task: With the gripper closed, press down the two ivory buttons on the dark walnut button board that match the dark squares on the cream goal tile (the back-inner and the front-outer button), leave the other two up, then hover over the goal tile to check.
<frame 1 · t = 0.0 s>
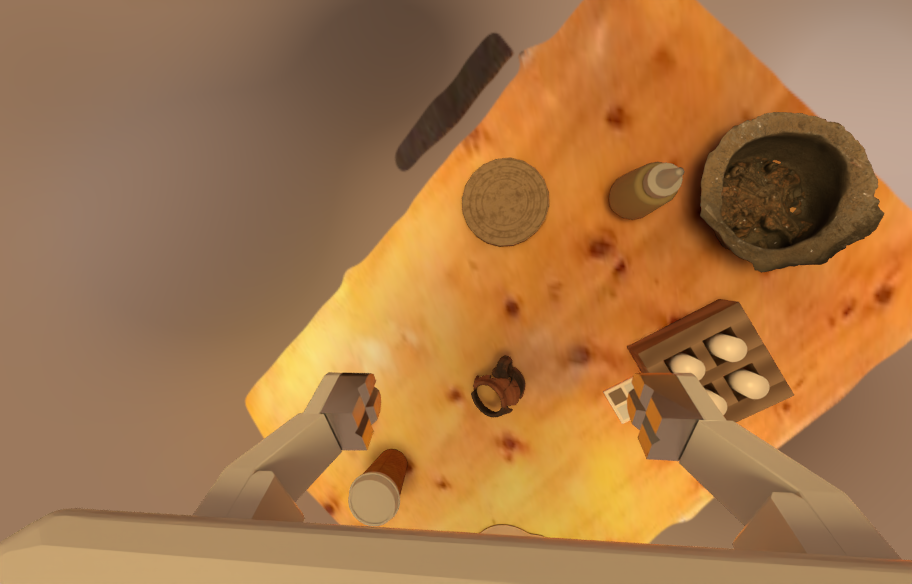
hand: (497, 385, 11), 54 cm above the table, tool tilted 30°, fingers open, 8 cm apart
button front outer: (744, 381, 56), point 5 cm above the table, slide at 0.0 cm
squeeze bottle: (625, 200, 60), on the table
stone bowl: (751, 198, 58), on the table
disposable coffee cup: (393, 462, 70), on the table
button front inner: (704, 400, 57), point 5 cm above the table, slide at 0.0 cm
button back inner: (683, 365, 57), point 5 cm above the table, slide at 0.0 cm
button board: (696, 365, 61), on the table
pottery mug: (500, 378, 66), on the table
goal tile: (629, 398, 63), on the table
brown wooden disc: (504, 205, 64), on the table
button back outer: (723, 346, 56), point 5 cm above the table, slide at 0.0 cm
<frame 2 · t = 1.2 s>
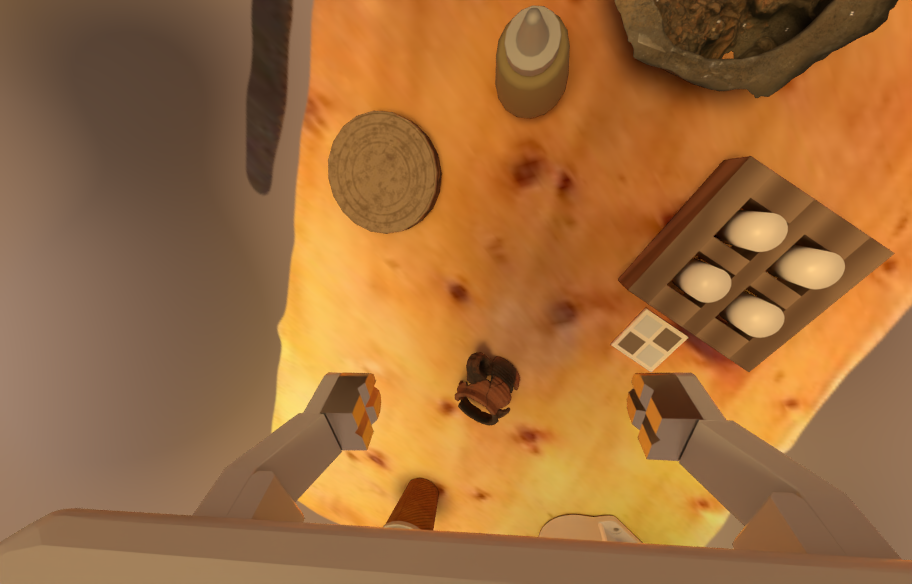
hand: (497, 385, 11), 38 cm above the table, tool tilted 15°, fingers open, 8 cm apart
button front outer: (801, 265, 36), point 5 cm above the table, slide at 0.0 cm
squeeze bottle: (530, 88, 41), on the table
disposable coffee cup: (423, 489, 64), on the table
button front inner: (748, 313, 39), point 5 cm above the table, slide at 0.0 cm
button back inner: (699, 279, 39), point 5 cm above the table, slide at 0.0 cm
button board: (725, 264, 42), on the table
pottery mug: (487, 373, 54), on the table
goal tile: (647, 340, 47), on the table
brown wooden disc: (389, 176, 48), on the table
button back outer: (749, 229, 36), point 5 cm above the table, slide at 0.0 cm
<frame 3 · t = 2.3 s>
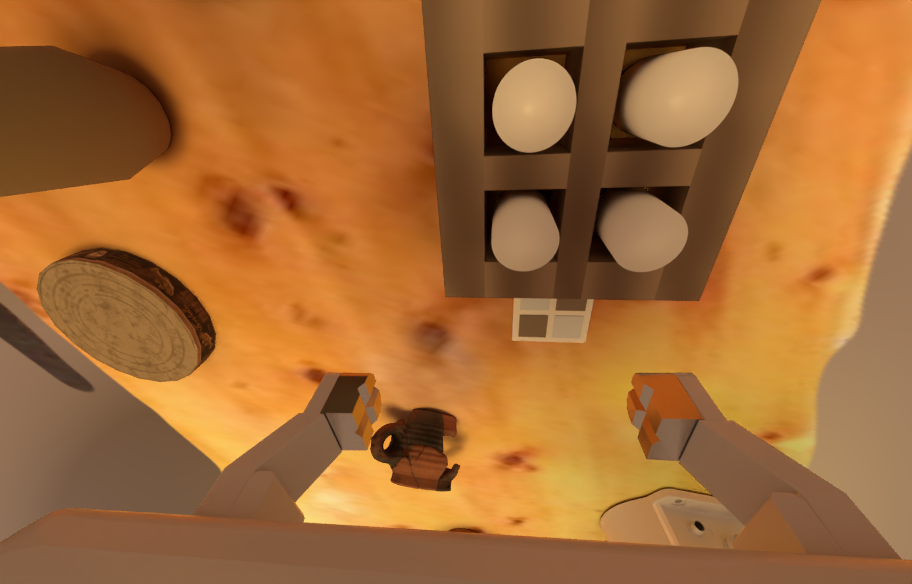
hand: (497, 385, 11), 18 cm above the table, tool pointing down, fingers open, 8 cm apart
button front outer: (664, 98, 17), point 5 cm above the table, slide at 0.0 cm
squeeze bottle: (137, 115, 26), on the table
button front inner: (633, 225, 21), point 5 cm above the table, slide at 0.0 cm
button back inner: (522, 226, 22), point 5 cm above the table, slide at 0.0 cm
button board: (570, 155, 24), on the table
pottery mug: (422, 426, 43), on the table
goal tile: (551, 310, 31), on the table
brown wooden disc: (148, 310, 37), on the table
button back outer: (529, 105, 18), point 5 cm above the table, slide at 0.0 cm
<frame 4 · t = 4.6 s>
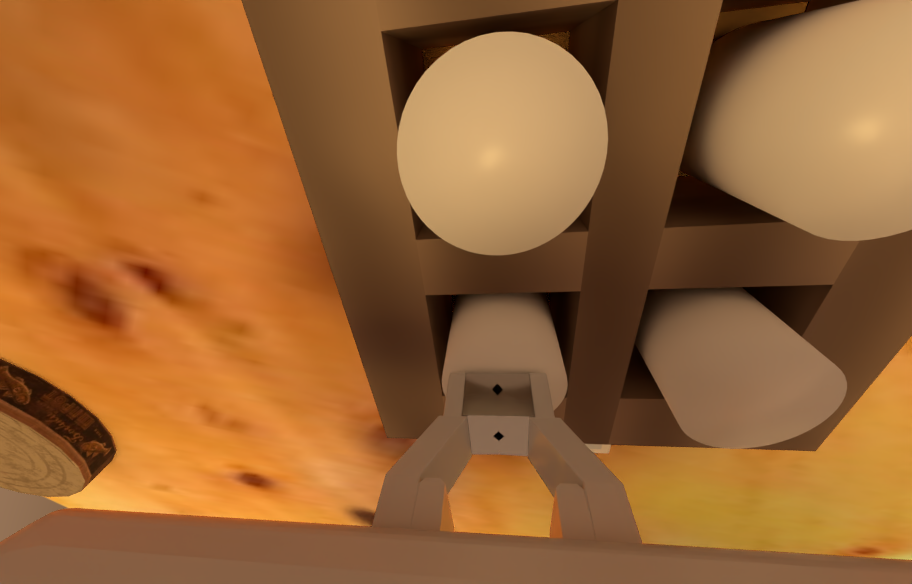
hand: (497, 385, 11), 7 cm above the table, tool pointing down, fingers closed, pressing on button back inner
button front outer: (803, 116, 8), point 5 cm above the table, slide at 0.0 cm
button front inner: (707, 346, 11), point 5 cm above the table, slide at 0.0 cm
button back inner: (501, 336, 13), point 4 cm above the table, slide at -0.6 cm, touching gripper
button board: (581, 207, 14), on the table
brown wooden disc: (22, 409, 28), on the table
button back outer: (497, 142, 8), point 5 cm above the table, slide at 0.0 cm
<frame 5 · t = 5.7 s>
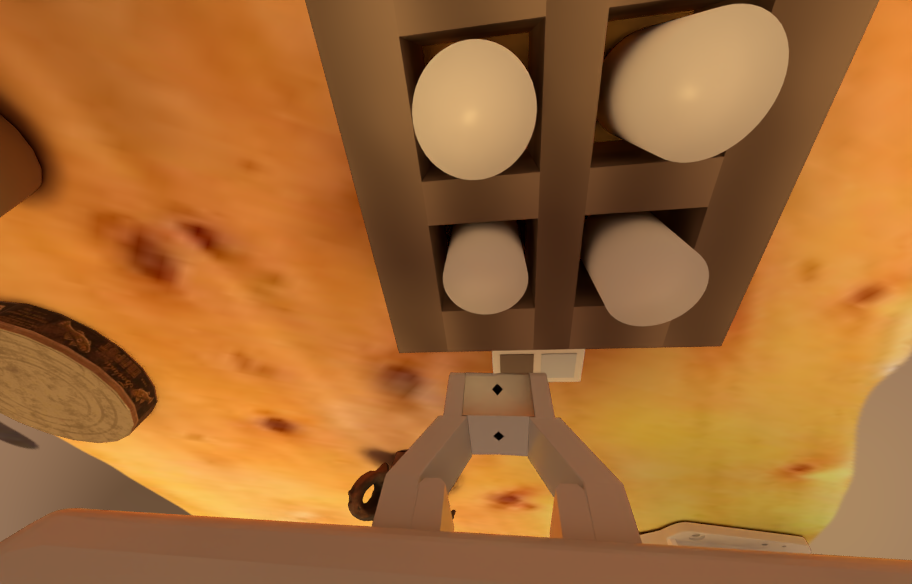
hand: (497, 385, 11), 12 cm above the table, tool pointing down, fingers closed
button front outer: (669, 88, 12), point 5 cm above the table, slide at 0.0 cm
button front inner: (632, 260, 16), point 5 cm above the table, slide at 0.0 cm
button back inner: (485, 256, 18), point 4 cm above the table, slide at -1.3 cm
button board: (545, 166, 18), on the table
pottery mug: (411, 467, 38), on the table
goal tile: (537, 347, 26), on the table
brown wooden disc: (74, 364, 32), on the table
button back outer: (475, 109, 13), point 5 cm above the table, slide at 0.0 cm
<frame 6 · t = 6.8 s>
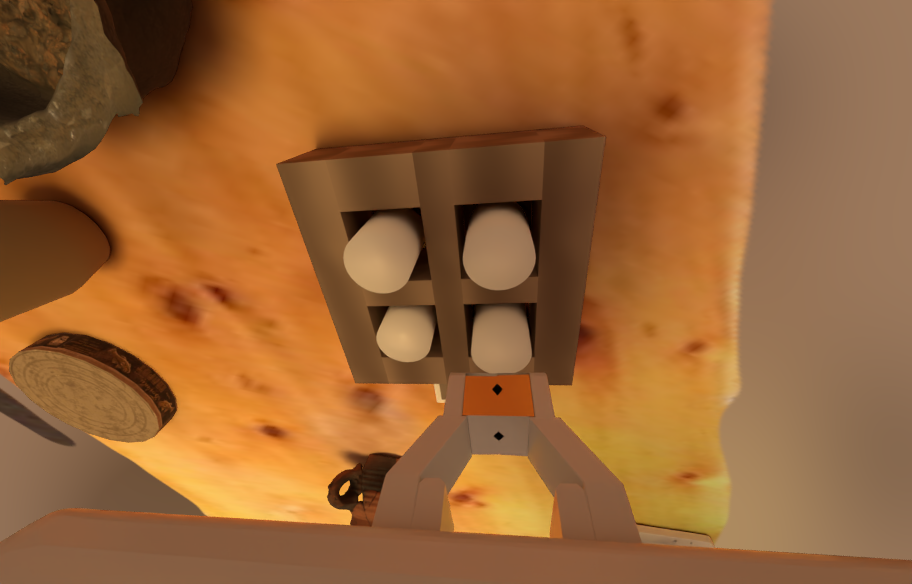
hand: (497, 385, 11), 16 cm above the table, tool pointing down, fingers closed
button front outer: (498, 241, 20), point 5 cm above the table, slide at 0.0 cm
squeeze bottle: (79, 232, 29), on the table
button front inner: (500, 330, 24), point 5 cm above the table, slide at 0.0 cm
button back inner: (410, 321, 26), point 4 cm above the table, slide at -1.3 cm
button board: (454, 259, 27), on the table
pottery mug: (382, 468, 45), on the table
brown wooden disc: (114, 380, 41), on the table
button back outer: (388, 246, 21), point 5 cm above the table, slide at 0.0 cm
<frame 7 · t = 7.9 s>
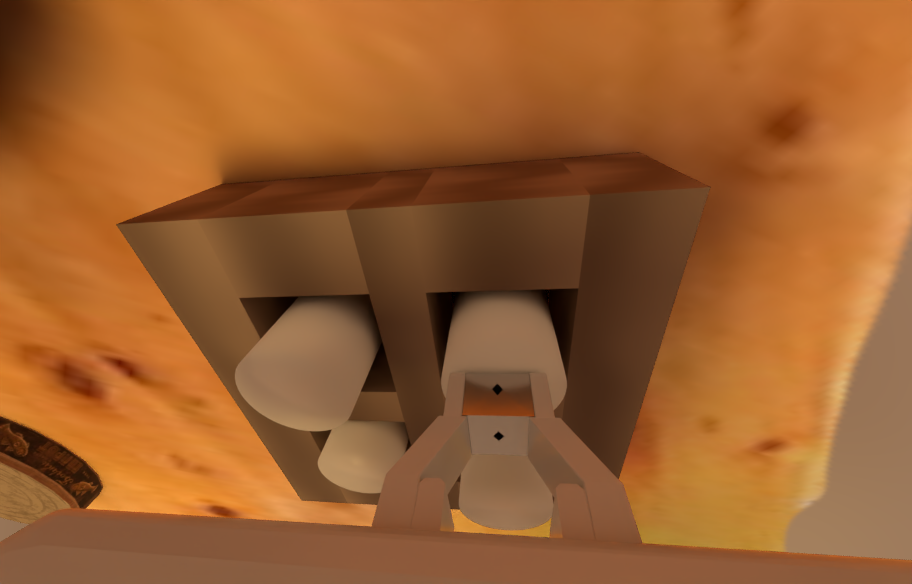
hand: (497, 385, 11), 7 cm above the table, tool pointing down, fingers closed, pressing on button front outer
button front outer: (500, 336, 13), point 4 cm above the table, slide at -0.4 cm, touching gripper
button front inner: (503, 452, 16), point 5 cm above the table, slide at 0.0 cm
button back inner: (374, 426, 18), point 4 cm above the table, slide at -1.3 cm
button board: (438, 334, 19), on the table
brown wooden disc: (21, 452, 33), on the table
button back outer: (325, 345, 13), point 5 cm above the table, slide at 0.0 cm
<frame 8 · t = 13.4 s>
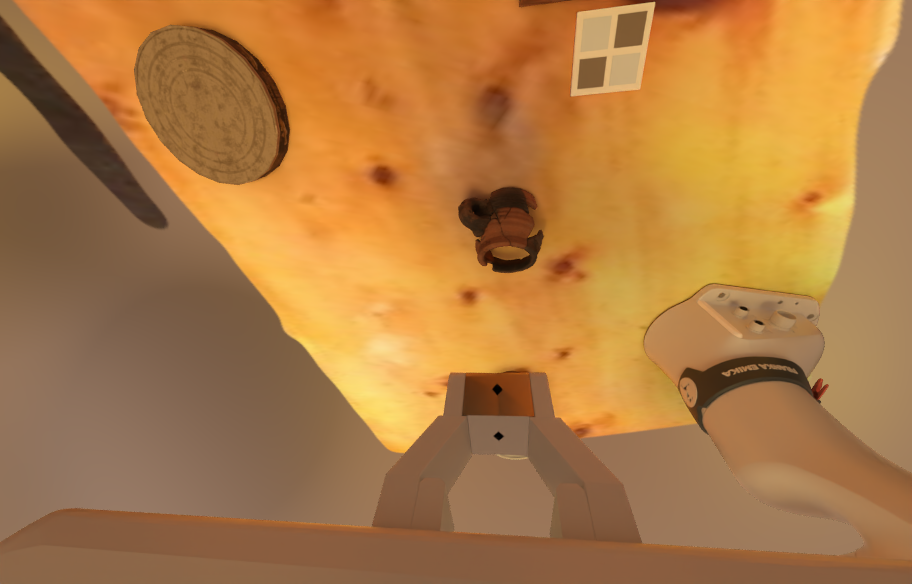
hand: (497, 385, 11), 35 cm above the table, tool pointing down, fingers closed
pottery mug: (499, 219, 44), on the table
goal tile: (608, 52, 33), on the table
brown wooden disc: (227, 111, 40), on the table
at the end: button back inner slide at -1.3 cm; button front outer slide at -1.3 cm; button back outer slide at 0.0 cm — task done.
